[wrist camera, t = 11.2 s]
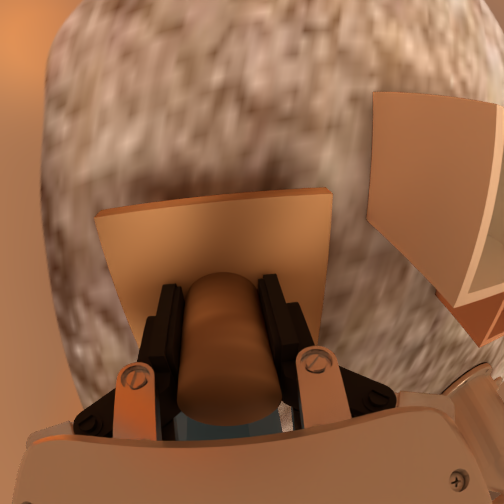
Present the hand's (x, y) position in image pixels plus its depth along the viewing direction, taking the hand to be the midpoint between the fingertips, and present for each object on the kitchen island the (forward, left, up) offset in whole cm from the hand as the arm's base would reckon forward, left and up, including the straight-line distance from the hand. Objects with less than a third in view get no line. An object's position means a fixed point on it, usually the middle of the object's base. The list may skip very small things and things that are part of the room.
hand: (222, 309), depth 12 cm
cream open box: (-13, -5, -6) cm, 15 cm away
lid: (0, 0, -1) cm, 1 cm away
